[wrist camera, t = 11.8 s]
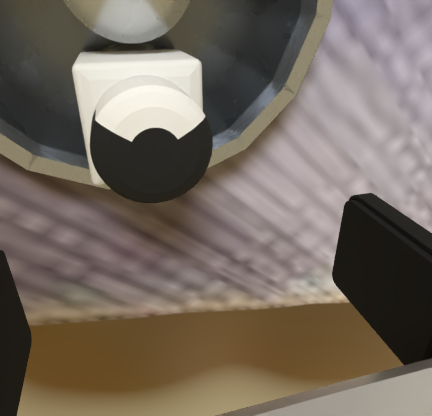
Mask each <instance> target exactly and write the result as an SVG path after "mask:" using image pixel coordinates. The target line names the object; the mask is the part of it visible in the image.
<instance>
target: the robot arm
mask: <svg viewBox="0 0 432 416" xmlns="http://www.w3.org/2000/svg"><path fill="white" fill-rule="evenodd" d="M332 277H333V281H334V283H335V284H336V286H337V287H338V288H339V289H340V290H341V292H342V293H343V294H344V295H345V296H346V297H347V299H348V300H349V301H350V302H351V303H352V304H353V306H354V307H355V308H356V309H357V310H358V311H359V313H360V314H361V315H362V316H363V317H364V318H365V320H366V321H367V322H368V323H369V324H370V326H371V327H372V328H373V329H374V330H375V331H376V333H377V334H378V335H379V336H380V337H381V338H382V340H383V341H384V342H385V343H386V344H387V345H388V347H389V348H390V349H391V350H392V351H393V353H394V354H395V355H396V356H397V357H398V358H399V360H400V361H401V362H402V363H403V364H404V366H401V367H397V368H393V369H389V370H385V371H382V372H377V373H374V374H370V375H366V376H362V377H358V378H355V379H351V380H348V381H344V382H340V383H336V384H332V385H329V386H325V387H321V388H317V389H314V390H310V391H306V392H302V393H298V394H295V395H291V396H288V397H284V398H280V399H276V400H273V401H269V402H265V403H262V404H258V405H254V406H250V407H246V408H243V409H239V410H235V411H231V412H228V413H224V414H221V415H217V416H432V233H430V232H429V231H427V230H426V229H424V228H423V227H422V226H420V225H419V224H417V223H416V222H414V221H413V220H411V219H410V218H408V217H407V216H405V215H404V214H402V213H401V212H399V211H398V210H396V209H395V208H393V207H392V206H391V205H389V204H388V203H386V202H385V201H383V200H382V199H380V198H379V197H377V196H376V195H374V194H372V193H367V194H360V195H353V196H351V197H350V199H349V201H347V202H346V203H345V205H344V210H343V216H342V221H341V227H340V232H339V238H338V244H337V249H336V255H335V260H334V266H333V271H332ZM30 348H31V331H30V328H29V325H28V322H27V319H26V316H25V313H24V310H23V307H22V304H21V301H20V298H19V295H18V292H17V289H16V286H15V283H14V280H13V277H12V274H11V271H10V268H9V265H8V262H7V259H6V256H5V254H4V252H3V251H2V250H0V416H17V411H18V406H19V401H20V396H21V391H22V387H23V382H24V377H25V372H26V367H27V362H28V358H29V353H30Z"/></svg>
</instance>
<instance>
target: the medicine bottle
mask: <svg viewBox="0 0 432 416" xmlns="http://www.w3.org/2000/svg"><path fill="white" fill-rule="evenodd" d="M72 74H73V79H74V85H75V91H76V96H77V102H78V107H79V113H80V119H81V124H82V130H83V135H84V141H85V147H86V152H87V158H88V163H89V169H90V175H91V180H92V182H93V184H94V185H97V186H100V185H107V186H108V187H109V188H110V189H112V190H113V191H114V192H116V193H117V194H119V195H121V196H123V197H125V198H127V199H130V200H133V201H137V202H143V203H158V202H165V201H168V200H172V199H174V198H177V197H179V196H181V195H182V194H184V193H186V192H187V191H189V190H190V189H191V188H193V187H194V186H195V185H196V184H197V183H198V181H199V180H200V179H201V178H202V176H203V175H204V173H205V171H206V170H207V167H208V165H209V163H210V159H211V156H212V149H213V138H212V132H211V128H210V125H209V122H208V120H207V118H206V116H205V114H204V113H203V98H202V65H201V62H200V61H199V60H198V59H196V58H194V57H192V56H190V55H188V54H186V53H184V52H182V51H180V50H178V49H162V50H130V51H97V52H81V53H80V54H79V55H78V57H77V59H76V61H75V63H74V65H73V67H72Z"/></svg>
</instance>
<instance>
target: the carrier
mask: <svg viewBox="0 0 432 416" xmlns="http://www.w3.org/2000/svg"><path fill="white" fill-rule="evenodd" d="M332 5H333V0H0V153H1V154H2V155H4V156H5V157H7V158H9V159H10V160H12V161H13V162H15V163H17V164H18V165H20V166H21V167H23V168H25V169H26V170H28V169H29V171H33V172H37V173H41V174H45V175H50V176H54V177H58V178H62V179H67V180H71V181H75V182H79V183H83V184H88V185H92V186H96V187H100V188H105V189H109V190H111V189H110V188H109V187H108V186H107V185H100V186H97V185H94V184H93V182H92V180H91V175H90V169H89V163H88V158H87V152H86V147H85V141H84V135H83V130H82V124H81V119H80V113H79V107H78V102H77V96H76V91H75V85H74V79H73V74H72V67H73V65H74V63H75V61H76V59H77V57H78V55H79V54H80V53H81V52H97V51H130V50H162V49H178V50H180V51H182V52H184V53H186V54H188V55H190V56H192V57H194V58H196V59H198V60H199V61H200V62H201V65H202V98H203V113H204V114H205V116H206V118H207V120H208V122H209V125H210V128H211V132H212V138H213V149H212V156H211V159H210V163H209V165H208V167H207V169H208V168H210V167H212V166H214V165H215V164H217V163H219V162H221V161H223V160H225V159H227V158H229V157H231V156H233V155H235V154H237V153H239V152H241V151H243V150H245V149H246V148H247V147H248V146H249V145H250V144H251V143H252V142H253V141H254V140H255V139H256V138H257V137H258V136H259V134H260V133H261V132H262V131H263V130H264V129H265V128H266V127H267V126H268V125H269V124H270V123H271V122H272V121H273V119H274V118H275V117H276V116H277V115H278V114H279V113H280V112H281V111H282V110H283V109H284V108H285V107H286V106H287V104H288V103H289V102H290V101H291V100H292V99H293V98H294V97H295V96H296V95H295V94H297V92H298V90H299V88H300V85H301V83H302V81H303V79H304V77H305V74H306V72H307V70H308V68H309V66H310V63H311V61H312V59H313V57H314V55H315V52H316V50H317V48H318V46H319V43H320V41H321V39H322V37H323V35H324V32H325V30H326V28H327V26H328V24H329V21H330V18H331V13H332Z"/></svg>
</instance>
